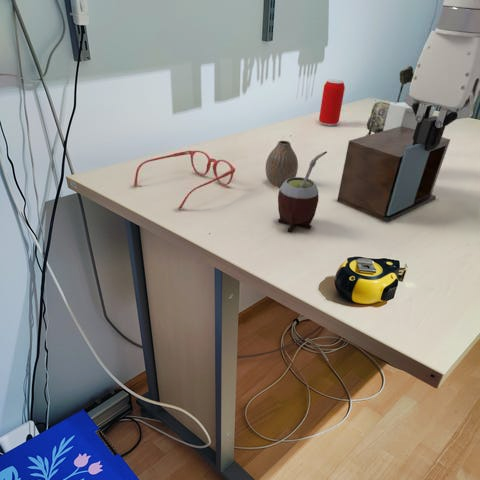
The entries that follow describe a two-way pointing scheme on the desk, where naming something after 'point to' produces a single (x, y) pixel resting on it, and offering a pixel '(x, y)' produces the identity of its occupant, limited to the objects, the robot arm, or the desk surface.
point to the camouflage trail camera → (386, 105)
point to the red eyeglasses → (195, 169)
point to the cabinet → (384, 172)
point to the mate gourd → (298, 200)
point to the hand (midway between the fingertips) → (423, 146)
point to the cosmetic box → (401, 116)
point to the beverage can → (331, 102)
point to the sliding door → (411, 170)
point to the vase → (281, 164)
